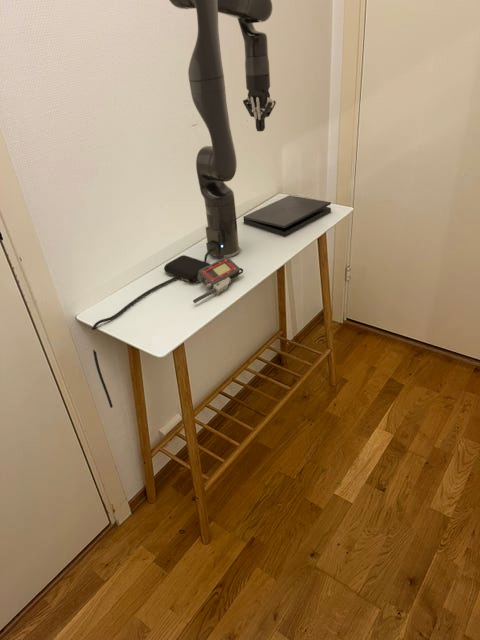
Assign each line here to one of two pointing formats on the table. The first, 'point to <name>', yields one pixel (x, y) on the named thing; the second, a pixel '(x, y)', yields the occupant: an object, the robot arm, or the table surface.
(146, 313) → the table surface
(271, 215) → the laptop screen
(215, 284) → the grey red handheld meter
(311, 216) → the laptop
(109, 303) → the table surface
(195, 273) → the carrying case
